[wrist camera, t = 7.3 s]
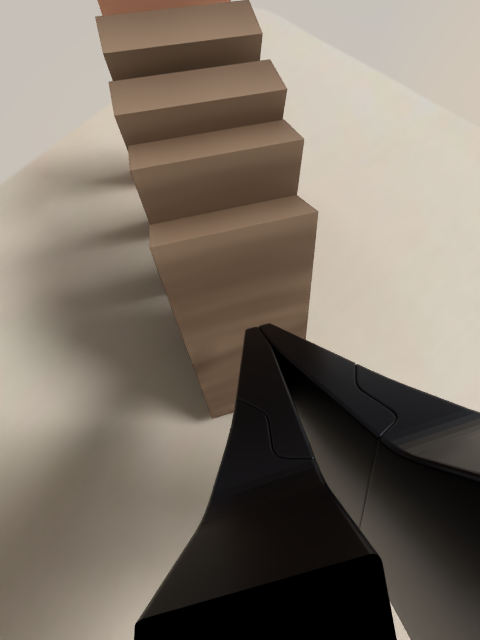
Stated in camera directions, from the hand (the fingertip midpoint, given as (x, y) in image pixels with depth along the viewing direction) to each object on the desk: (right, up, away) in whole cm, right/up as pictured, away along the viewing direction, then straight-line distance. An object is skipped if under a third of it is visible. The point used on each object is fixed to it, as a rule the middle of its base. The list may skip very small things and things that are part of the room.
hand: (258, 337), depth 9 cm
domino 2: (-1, 0, +7) cm, 7 cm away
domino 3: (-2, +4, +8) cm, 9 cm away
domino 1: (0, -3, +6) cm, 7 cm away
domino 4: (-3, +7, +9) cm, 12 cm away
